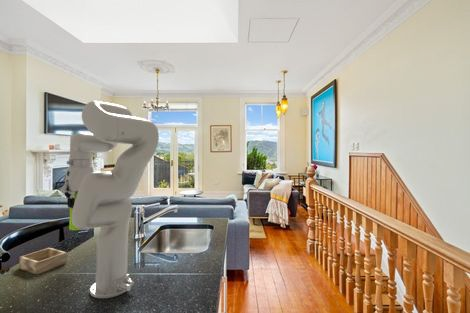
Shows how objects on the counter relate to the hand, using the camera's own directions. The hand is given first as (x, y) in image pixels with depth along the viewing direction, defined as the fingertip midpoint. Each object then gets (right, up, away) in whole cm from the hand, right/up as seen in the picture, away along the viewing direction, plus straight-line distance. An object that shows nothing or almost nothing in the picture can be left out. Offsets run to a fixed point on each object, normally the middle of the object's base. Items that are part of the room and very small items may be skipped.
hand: (79, 205), depth 100 cm
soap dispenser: (0, -10, 0) cm, 10 cm away
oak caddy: (-11, -23, -5) cm, 26 cm away
